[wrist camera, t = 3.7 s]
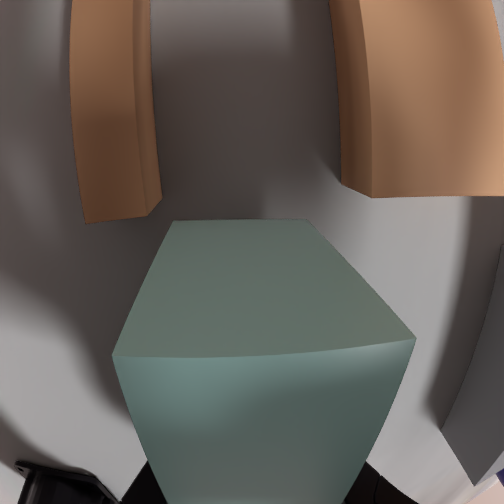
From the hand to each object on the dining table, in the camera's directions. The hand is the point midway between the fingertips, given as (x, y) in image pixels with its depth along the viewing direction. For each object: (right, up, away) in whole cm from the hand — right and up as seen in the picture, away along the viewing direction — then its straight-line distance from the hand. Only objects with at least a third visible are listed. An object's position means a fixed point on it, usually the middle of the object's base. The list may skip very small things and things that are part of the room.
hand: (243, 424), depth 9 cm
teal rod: (0, 0, +1) cm, 1 cm away
